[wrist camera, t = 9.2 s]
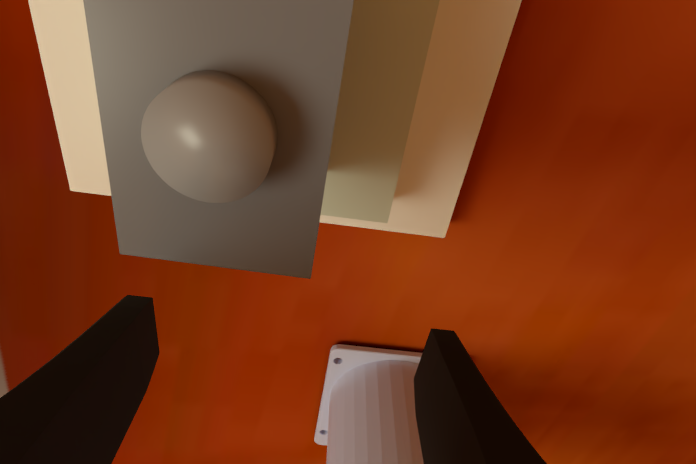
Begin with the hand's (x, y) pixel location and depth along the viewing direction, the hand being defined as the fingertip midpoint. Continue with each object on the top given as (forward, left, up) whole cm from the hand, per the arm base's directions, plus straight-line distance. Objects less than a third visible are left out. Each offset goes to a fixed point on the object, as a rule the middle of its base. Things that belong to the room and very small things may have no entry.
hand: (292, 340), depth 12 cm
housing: (+5, +2, -6) cm, 9 cm away
